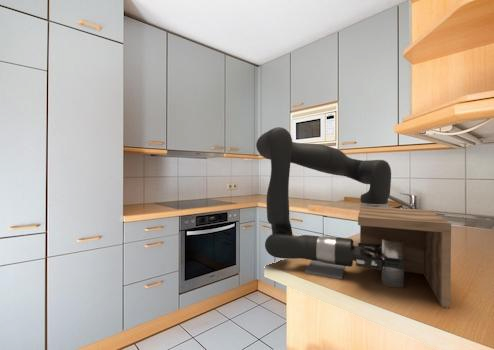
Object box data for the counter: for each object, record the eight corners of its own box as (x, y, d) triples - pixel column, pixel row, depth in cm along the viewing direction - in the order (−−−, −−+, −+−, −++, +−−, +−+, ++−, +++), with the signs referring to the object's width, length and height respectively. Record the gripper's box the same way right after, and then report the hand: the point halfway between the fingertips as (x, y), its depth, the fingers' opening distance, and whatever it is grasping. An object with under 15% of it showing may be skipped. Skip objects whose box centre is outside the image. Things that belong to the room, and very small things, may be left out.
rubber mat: (312, 261, 83) (312, 259, 83) (345, 265, 78) (345, 263, 78) (304, 273, 73) (304, 271, 73) (342, 279, 68) (342, 277, 68)
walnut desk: (360, 263, 81) (360, 206, 81) (429, 272, 73) (429, 210, 73) (357, 291, 62) (358, 216, 62) (450, 308, 54) (451, 223, 54)
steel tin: (381, 277, 70) (381, 237, 70) (402, 281, 68) (402, 239, 68) (382, 284, 65) (382, 242, 65) (404, 288, 63) (405, 244, 63)
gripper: (331, 243, 66) (404, 252, 59) (337, 232, 79) (398, 237, 72) (331, 272, 66) (404, 284, 59) (337, 256, 79) (398, 264, 72)
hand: (401, 259), depth 66 cm, fingers open, 8 cm apart
